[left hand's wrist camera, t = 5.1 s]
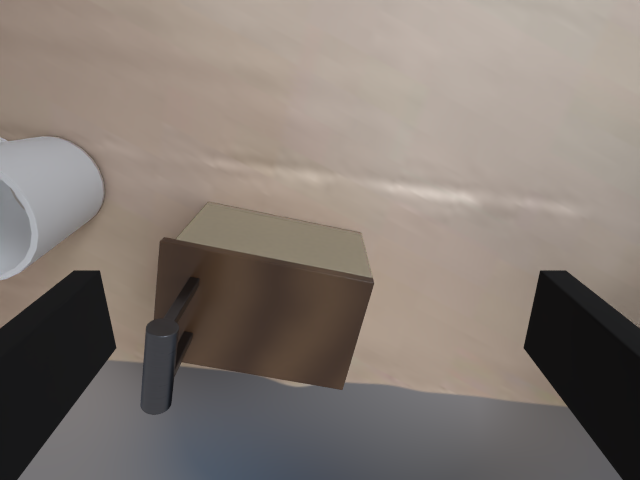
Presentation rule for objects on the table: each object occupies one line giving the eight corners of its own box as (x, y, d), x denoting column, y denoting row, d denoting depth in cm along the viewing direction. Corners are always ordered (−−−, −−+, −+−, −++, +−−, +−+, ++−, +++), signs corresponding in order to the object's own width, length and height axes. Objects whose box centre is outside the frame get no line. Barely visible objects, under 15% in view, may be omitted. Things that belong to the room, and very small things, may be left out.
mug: (132, 197, 37) (67, 240, 28) (60, 246, 39) (-25, 302, 29) (40, 86, 34) (-71, 91, 24) (-34, 145, 35) (-165, 172, 26)
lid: (154, 350, 32) (104, 433, 25) (163, 236, 29) (108, 293, 21) (342, 383, 34) (348, 472, 26) (372, 277, 30) (390, 345, 23)
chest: (197, 294, 41) (164, 351, 32) (208, 201, 37) (175, 238, 29) (337, 320, 42) (341, 382, 34) (361, 232, 39) (373, 277, 30)
